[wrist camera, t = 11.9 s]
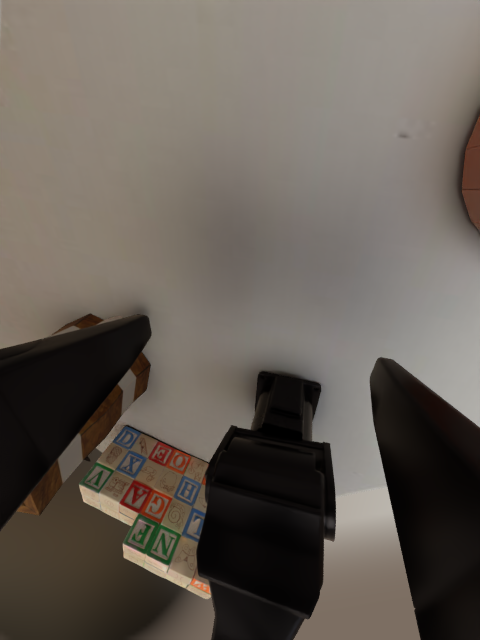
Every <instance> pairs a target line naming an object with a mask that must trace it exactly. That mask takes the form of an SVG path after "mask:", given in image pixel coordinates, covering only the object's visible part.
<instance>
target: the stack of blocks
mask: <svg viewBox="0 0 480 640" xmlns="http://www.w3.org/2000/svg"><path fill="white" fill-rule="evenodd" d="M208 465H209V464H208V463H206V462H204V461H202V460H199V459H197V458H195V457H193V456H190V455H187V454H185V453H183V452H181V451H179V450H177V449H174V448H172V447H170V446H168V445H166V444H163V443H161V442H158V441H157V440H155V439H153V438H151V437H149V436H147V435H144V434H142V433H140V432H138V431H136V430H134V429H132V428H129V427H127V426H125V427H124V428H123V429H122V431H121V432H120V433H119V434H118V435H117V437H116V438H115V439H114V440H113V442H112V443H111V444H110V445H109V446H108V447H107V449H106V450H105V451H104V452H103V454H102V455H101V456H100V457H99V459H98V460H97V462H96V463H95V464H94V466H93V467H92V468H91V470H90V471H89V472H88V473H87V474H86V476H85V477H84V478H83V480H82V481H81V482H80V483H79V486H80V491H81V493H82V497H83V501H84V502H85V503H87V504H89V505H91V506H93V507H95V508H97V509H100V510H101V511H103V512H105V513H106V514H108V515H110V516H112V517H114V518H116V519H118V520H120V521H122V522H124V523H126V524H128V525H130V526H132V527H131V529H130V530H129V533H128V534H127V537H126V538H125V540H124V542H123V551H124V558H126V559H128V560H130V561H132V562H134V563H136V564H138V565H140V566H142V567H144V568H145V569H147V570H149V571H150V572H152V573H155V574H156V575H158V576H160V577H163V578H166V579H167V580H169V581H171V582H173V583H176V584H178V585H179V586H181V587H184V588H186V589H187V590H189V591H191V592H193V593H195V594H197V595H199V596H201V597H203V598H204V599H208V598H210V597H211V592H210V586H209V581H208V580H207V579H204V578H202V577H199V575H198V570H197V558H196V549H197V545H198V541H199V538H200V534H201V530H202V526H203V522H204V518H205V514H206V508H207V503H206V501H205V484H206V479H205V471H206V469H207V468H208Z"/></svg>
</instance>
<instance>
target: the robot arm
mask: <svg viewBox="0 0 480 640" xmlns="http://www.w3.org/2000/svg"><path fill="white" fill-rule="evenodd" d="M150 337H151V327H150V321H149V318H148V317H147V316H145V315H140V314H137V315H133V316H129V317H126V318H122V319H118V320H114V321H110V322H106V323H102V324H98V325H94V326H90V327H87V328H83V329H79V330H75V331H71V332H67V333H63V334H59V335H55V336H52V337H48V338H44V339H40V340H36V341H32V342H28V343H24V344H20V345H16V346H12V347H7V348H3V349H0V531H1V530H2V529H3V527H4V526H5V525H6V524H7V522H8V521H9V520H10V518H11V517H12V516H13V515H14V514H15V512H16V511H17V510H18V509H19V507H20V506H21V505H22V504H23V502H24V501H25V500H26V499H27V497H28V496H29V495H30V494H31V492H32V491H33V490H34V489H35V487H36V486H37V485H38V484H39V482H40V481H41V480H42V479H43V477H44V476H45V475H46V473H47V472H48V471H49V470H50V467H52V466H53V464H54V463H55V462H56V461H57V459H58V458H59V457H60V456H61V454H62V453H63V452H64V451H65V449H66V448H67V447H68V446H69V444H70V443H71V442H72V441H73V439H74V438H75V437H76V436H77V434H78V433H79V432H80V431H81V429H82V428H83V427H84V426H85V424H86V423H87V422H88V421H89V419H90V418H91V417H92V416H93V414H94V413H95V412H96V411H97V409H98V408H99V407H100V406H101V404H102V403H103V402H104V400H105V399H106V398H107V397H108V395H109V394H110V393H111V392H112V390H113V389H114V388H115V387H116V385H117V384H118V383H119V382H120V380H121V379H122V378H123V377H124V375H125V374H126V373H127V372H128V370H129V369H130V368H131V366H132V365H133V364H134V362H135V361H136V359H137V358H138V356H139V355H140V353H141V351H142V350H143V348H144V347H145V345H146V344H147V342H148V341H149V339H150ZM262 376H264V377H262ZM315 387H317V388H315ZM370 390H371V402H372V413H373V422H374V427H375V432H376V437H377V441H378V446H379V450H380V455H381V459H382V464H383V469H384V473H385V478H386V482H387V487H388V491H389V496H390V501H391V505H392V510H393V514H394V519H395V523H396V528H397V533H398V537H399V541H400V546H401V551H402V555H403V560H404V564H405V569H406V574H407V578H408V583H409V587H410V592H411V596H412V601H413V605H414V608H415V615H416V620H417V625H418V629H419V633H420V638H421V640H480V427H478V426H477V425H476V424H475V423H473V422H472V421H471V420H469V419H468V418H467V417H466V416H464V415H463V414H462V413H460V412H459V411H458V410H457V409H455V408H454V407H453V406H451V405H450V404H449V403H448V402H446V401H445V400H444V399H443V398H441V397H440V396H439V395H437V394H436V393H435V392H434V391H432V390H431V389H430V388H428V387H427V386H426V385H425V384H423V383H422V382H421V381H420V380H418V379H417V378H416V377H414V376H413V375H412V374H411V373H409V372H408V371H407V370H405V369H404V368H403V367H402V366H400V365H399V364H398V363H396V362H395V361H394V360H392V359H388V358H382V357H380V358H378V359H377V361H376V363H375V366H374V368H373V371H372V373H371V376H370ZM320 393H321V385H320V384H318V383H315V382H310V381H305V380H301V379H296V378H291V377H286V376H282V375H277V374H272V373H268V372H260V373H259V375H258V383H257V394H256V405H255V415H254V419H253V422H252V426H251V430H249V429H243V428H238V427H237V426H233V425H231V427H230V429H229V430H228V432H227V433H226V435H225V436H224V438H223V440H222V441H221V443H220V445H219V447H218V448H217V450H216V452H215V454H214V455H213V457H212V459H211V460H210V462H209V465H208V468H207V469H206V471H205V479H206V484H205V501H206V503H207V508H206V514H205V518H204V522H203V526H202V530H201V534H200V538H199V541H198V545H197V549H196V558H197V570H198V575H199V577H202V578H204V579H207V580H208V581H209V586H210V592H211V597H212V601H213V607H214V611H215V619H214V626H213V633H212V639H211V640H293V639H294V638H295V636H296V634H297V632H298V630H299V628H300V626H301V625H302V622H303V621H304V619H309V618H310V617H311V615H312V612H313V610H314V608H315V606H316V603H317V601H318V599H319V595H320V589H321V587H322V584H323V560H324V558H323V557H324V539H327V540H331V541H334V539H335V527H336V525H335V524H336V501H335V484H334V475H333V466H332V458H331V449H330V443H325V442H323V443H319V442H314V441H312V422H313V418H314V414H315V411H316V407H317V404H318V400H319V396H320Z"/></svg>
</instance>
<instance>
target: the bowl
mask: <svg viewBox="0 0 480 640" xmlns="http://www.w3.org/2000/svg"><path fill="white" fill-rule="evenodd" d="M466 149H467V150H466V151H465V160H464V170H463V180H462V194H463V197H464V201H465V204H466V207H467V210H468V214H469V217H470V220H471V221H472V223H473V224H474V225H475V226H476V227H477V228H478V229H479V230H480V115H479V118H478V120H477V123H476V125H475V127H474V130H473V132H472V135H471V137H470V140H469V142H468V144H467V147H466Z"/></svg>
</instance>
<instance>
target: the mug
mask: <svg viewBox="0 0 480 640" xmlns="http://www.w3.org/2000/svg"><path fill="white" fill-rule="evenodd" d="M118 319H122V317H121V316H114V317H111V318H108V319H106V320H102V319H100V318H98V317H96V316H94V315H92V314H88V315H86V316H84V317H82V318H80V319H77V320H75V321H73V322H71V323H68V324H66V325H65V326H64V327H62V328H61V329H59V330H58V331H57V332H55V333H54V334H52V335H51V336H49V337H52V336H55V335H59V334H63V333H67V332H71V331H75V330H79V329H83V328H87V327H90V326H94V325H98V324H102V323H106V322H110V321H114V320H118ZM47 338H48V337H47ZM150 366H151V365H150V363H149V362H148V360H147V359H146V358H145V356H144V355H143V353H142V352H141V353H140V355H139V356H138V358H137V359H136V361H135V362H134V364H133V365H132V366H131V368H130V369H129V370H128V372H127V373H126V374H125V375H124V377H123V378H122V379H121V380H120V382H119V383H118V384H117V385H116V387H115V388H114V389H113V390H112V392H111V393H110V394H109V395H108V397H107V398H106V399H105V400H104V402H103V403H102V404H101V406H100V407H99V408H98V409H97V411H96V412H95V413H94V414H93V416H92V417H91V418H90V419H89V421H88V422H87V423H86V424H85V426H84V427H83V428H82V429H81V431H80V432H79V433H78V434H77V436H76V437H75V438H74V439H73V441H72V442H71V443H70V444H69V446H68V447H67V448H66V449H65V451H64V452H63V453H62V454H61V456H60V457H59V458H58V459H57V461H56V462H55V463H54V464H53V466H52V467H50V470H49V471H48V472H47V473H46V475H45V476H44V477H43V479H42V480H41V481H40V482H39V484H38V485H37V486H36V487H35V489H34V490H33V491H32V492H31V494H30V495H29V496H28V497H27V499H26V500H25V501H24V502H23V504H22V505H21V506H20V507H19V509H18V510H17V511H19V512H24V513H29V514H34V515H41V513H42V512H43V510H44V509H45V508H46V506H47V505H48V503H49V502H50V501H51V499H52V498H53V497H54V495H55V494H56V492H57V491H58V490H59V488H60V487H61V485H62V484H63V483H64V482H65V480H66V479H67V478H68V477H69V476H70V474H71V473H72V472H73V471H74V470H75V469H76V468H77V466H78V465H79V464H80V463H81V462H82V461H83V460H84V459H85V458H86V457H87V456H88V455H89V454H90V453H91V452H92V451H93V450H94V449H95V448H96V447H97V446H98V445H99V444H100V443H101V442H102V441H103V440H104V439H105V438H106V436H107V435H108V434H109V432H110V431H111V429H112V428H113V427H114V425H115V424H116V422H117V421H118V420H119V418H120V417H121V416H122V414H123V413H124V412H125V411H126V410H127V409H128V407H129V406H130V405H131V404H132V403H133V402H134V401H135V400H136V399H137V398H138V397H139V396H140V395H141V394H143V393H144V392H145V391H146V389H147V383H148V377H149V372H150Z"/></svg>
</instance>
